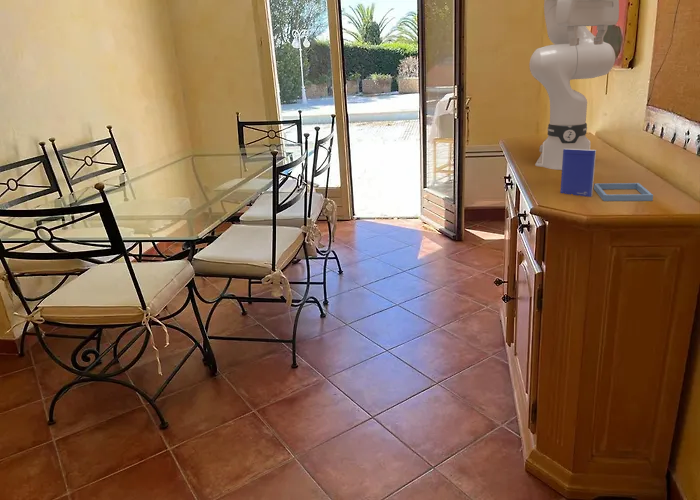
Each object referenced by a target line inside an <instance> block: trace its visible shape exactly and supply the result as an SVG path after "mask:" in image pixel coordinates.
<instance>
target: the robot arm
mask: <svg viewBox="0 0 700 500" xmlns="http://www.w3.org/2000/svg"><path fill="white" fill-rule="evenodd" d="M543 1H544V4H543V13H544V21H545V27H546V33H547V36H548V37H547V38H548V39H549V40H550V42H551V43H552V44H549V45H545V46H543V47H542V46H541V47H538V48H536V49H535V50H534V52H533V53H532V55H531V56H530V59H529V64H528V65H529V71H530V74H531V76H532V77H533V78H534V79H535V80H537V81H538V82H539V83H540V84H541V85H542V86H543V88H544V90H546V92H547V93H546V94H547V96H548V98H549V123H548V126H547V137H546V138H545V140H544V141H543V142H542V144H540V146H539V153H540V156H539V157H538V159H537V161H536V162H535V164H534V165H535V166H536V167H541V168H546V169H551V170H557V171H558V170H560V171H562V162H563V149H586V150H591V140H590V139H589V138H588V137H587V136H586V135H587V132H588V124H587V110H588V99H587V97H586V96H585V95H584V94H583V93H581V92H579V91H577V90H575V89H573V88H572V86H571V81H572V80H584V79H585V80H586V79H587V80H588V79H594V78H598V77H602V76H606V75H607V74H609V73H610V72H611V70H612V69H613V67H614V65H615V62H616V52H615V49H614V48H613V46H612V45H611V44H610V43H608V42H605V41H604V37H605V36H606V33H607V31H608V27H609V26H613V25H614V26H615V25H617V23H618V22H619V19H620V0H543ZM588 27H596V31H597V33H596V35H594V34H593V33H592V32H591V31H590V30H589V29H588Z"/></svg>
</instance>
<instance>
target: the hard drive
mask: <svg viewBox="0 0 700 500" xmlns="http://www.w3.org/2000/svg"><path fill="white" fill-rule="evenodd" d="M596 154H597V149H590V150H586V149H563V162H562V170H561V177H560V178H561V179H560V180H561V181H560V194H563V193H564V195H565V194H566V195H571V194H573V196H579V195H580V197H587V198H588V197H589V198H590V197H593V191H594V179H595V168H596V157H597V156H596Z"/></svg>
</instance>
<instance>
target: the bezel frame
mask: <svg viewBox="0 0 700 500" xmlns="http://www.w3.org/2000/svg"><path fill="white" fill-rule="evenodd" d="M604 190H637V192H638V193H637V194H632V193H631V194H630V193H629V194H627V193H626V194H607V193H606V192H605V191H604ZM593 191H595V192H596V194H597V195H598V196H599V197H600V199H601V200H602V201H603V202H630V201H631V202H634V201H635V202H639V201H641V202H649V201H650V202H651V201H652V202H653V200H654V199H653V198H654V194H653V193H651V192H650V191H649V190H648V189H647V188H646V187H644V185H642V184H641V183H640V182H627V183H626V182H625V183H624V182H623V183H622V182H615V183H613V182H612V183H609V182H608V183H593ZM639 193H640V194H639Z"/></svg>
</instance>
